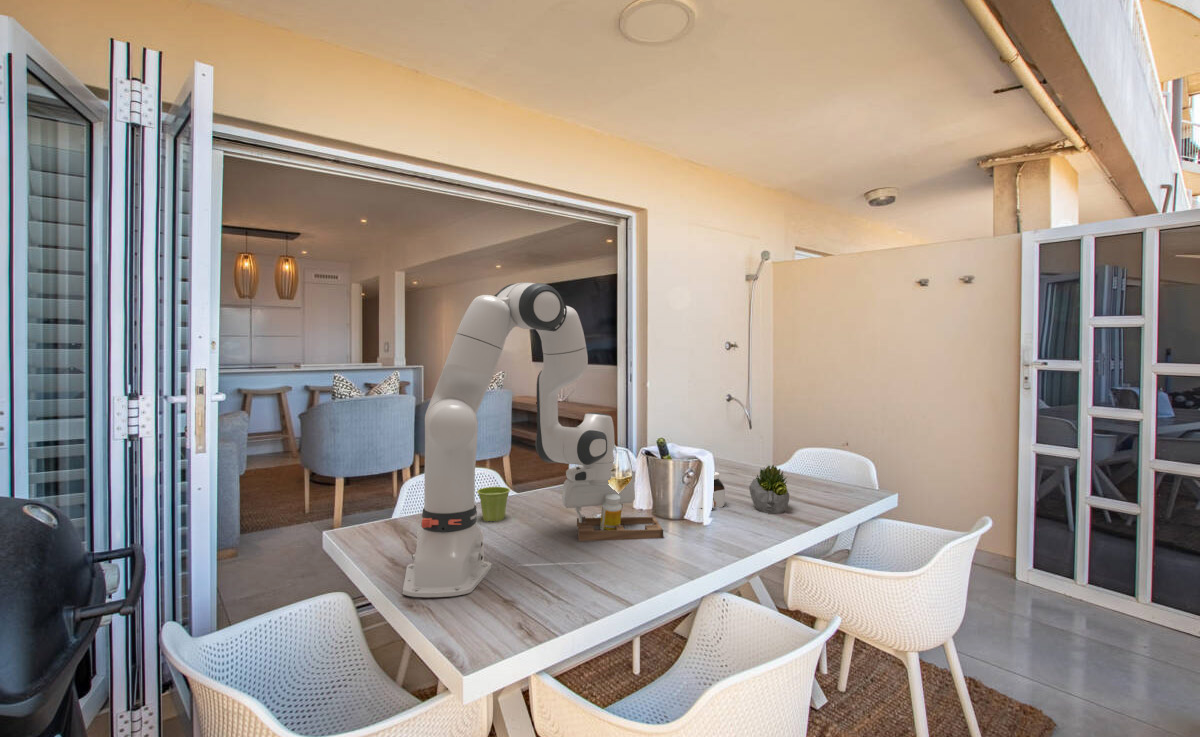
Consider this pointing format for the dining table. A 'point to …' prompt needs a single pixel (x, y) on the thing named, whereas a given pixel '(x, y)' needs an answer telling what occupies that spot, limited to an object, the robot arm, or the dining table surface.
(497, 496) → the plant pot
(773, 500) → the potted plant
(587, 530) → the frame
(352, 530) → the dining table surface
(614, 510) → the supplement bottle
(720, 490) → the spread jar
